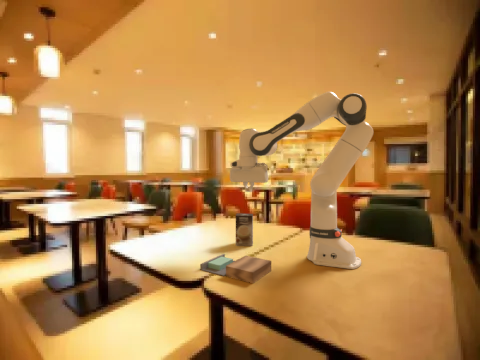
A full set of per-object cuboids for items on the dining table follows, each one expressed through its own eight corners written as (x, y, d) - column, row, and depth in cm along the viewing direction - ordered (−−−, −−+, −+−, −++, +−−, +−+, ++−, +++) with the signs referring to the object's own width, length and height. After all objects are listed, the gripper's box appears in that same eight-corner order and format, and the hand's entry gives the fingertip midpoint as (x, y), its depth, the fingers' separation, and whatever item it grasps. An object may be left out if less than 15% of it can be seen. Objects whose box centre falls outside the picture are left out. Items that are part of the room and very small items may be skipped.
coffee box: (235, 246, 143) (234, 215, 143) (236, 242, 150) (236, 213, 149) (252, 246, 142) (252, 215, 142) (253, 242, 149) (253, 213, 148)
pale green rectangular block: (221, 256, 120) (221, 260, 120) (208, 262, 112) (208, 267, 112) (232, 258, 116) (232, 263, 117) (219, 265, 109) (219, 270, 109)
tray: (245, 264, 117) (245, 258, 116) (224, 276, 104) (224, 270, 104) (223, 259, 123) (222, 253, 123) (200, 269, 111) (200, 264, 111)
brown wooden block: (271, 270, 109) (271, 260, 109) (253, 283, 98) (252, 272, 97) (245, 264, 116) (245, 255, 116) (225, 276, 104) (225, 265, 104)
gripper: (270, 162, 130) (270, 192, 130) (235, 163, 141) (235, 190, 142) (264, 162, 124) (264, 193, 125) (227, 163, 136) (228, 191, 136)
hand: (248, 191), depth 133 cm, fingers closed
